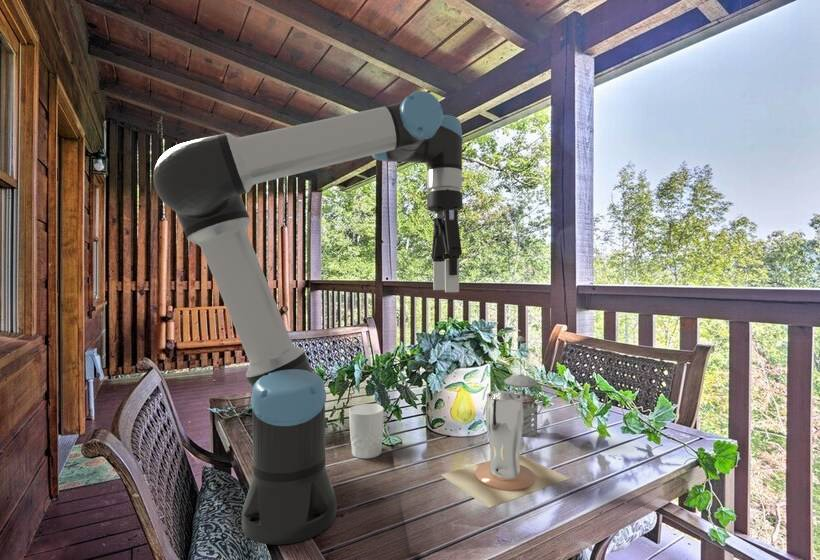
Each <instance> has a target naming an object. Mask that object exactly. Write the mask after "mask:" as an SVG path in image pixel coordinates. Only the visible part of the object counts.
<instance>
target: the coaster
mask: <svg viewBox="0 0 820 560" xmlns="http://www.w3.org/2000/svg"><path fill="white" fill-rule="evenodd" d="M489 467H490V462H487V463H484V464H481V465H480V466H478V467H477V469H476V478H477V480H478V481H479V482H481V483H482V484H484V485H486V486H488V487H490V488H494V489H498V490H505V491H517V490H523V489H526V488H528V487H530V486H532V485H533V483H534V474H533V472H532V471H531V470H530V469H528V468H527V467H525V466H522V465H520V469H521V477H520V478H519V479H517V480H513V481H503V480H498V479H496V478H493V477H492V476H491V475H490V474H489Z"/></svg>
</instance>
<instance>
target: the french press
mask: <svg viewBox="0 0 820 560" xmlns="http://www.w3.org/2000/svg"><path fill="white" fill-rule="evenodd" d="M516 342H519V343H520V344H519V345H520V347H519V348H520V350H519V352H520V353H519V355H520V357H519V358H520V359H519V360H520V364H519V366H520V369H519V371H520V373H519V374H513V375H510V376H509V377H507V378H506V379H504V384H506V385H507V386H508V387H509V386H510V387H513V388H524V389H525V388H526V389H527V388H529V390H530V392H536V393H537V397H536V396H535V397H534V396H533V395H531V394H524V393H519V394H520V395H521V396H522V404H523V432H522V438H523V437H525V438H526V437H534V436H536V435H539V433H538V415H539V414H540V412H541V411H542V410H543V406H544V401H545V400H544V399H545V398H544V392H543V390H542V388H541V387H539V386H538V384H539V382H538V381H537V380H536V379H535V378H533V377H531V376H529V375H524V374H522V342H525V337H524V336H522V335H519V336H517V337H516ZM533 387H534V389H532V388H533ZM538 389H539V391H540V392H541V396H542V404H541V408H540V409H539V410H538V406H539V401H540V393H539V391H538ZM536 398H537V399H536ZM536 400H537V401H536ZM535 401H536V402H537V403H536V402H535ZM532 403H533V407H532Z"/></svg>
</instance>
